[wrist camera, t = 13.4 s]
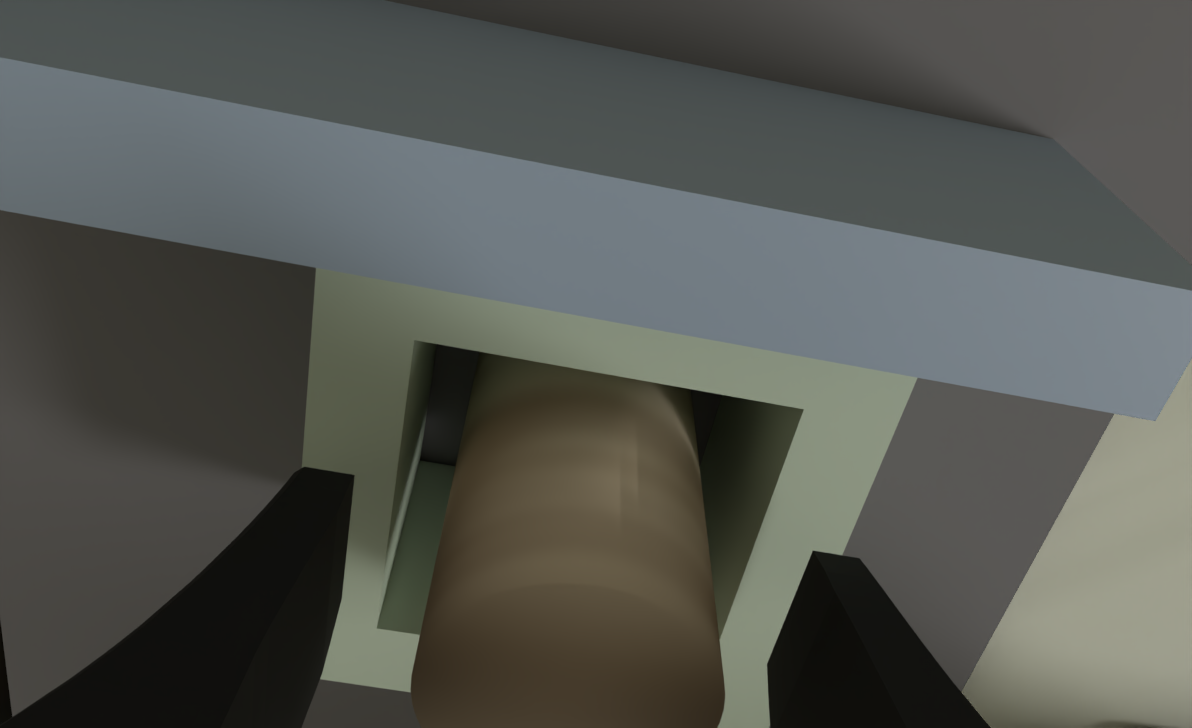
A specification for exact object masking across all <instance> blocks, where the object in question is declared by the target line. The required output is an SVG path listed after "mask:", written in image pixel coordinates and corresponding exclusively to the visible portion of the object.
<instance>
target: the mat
mask: <svg viewBox="0 0 1192 728" xmlns="http://www.w3.org/2000/svg"><path fill="white" fill-rule="evenodd" d="M386 1H390V2H395V3H400V4H405V5H410V6H414V7H419V8H424V9H429V10H434V11H438V12H443V13H448V14H453V15H458V16H463V17H467V18H472V19H477V20H482V21H487V22H491V23H496V24H501V25H506V26H511V27H515V28H520V29H525V30H530V31H535V32H540V33H544V34H549V35H554V36H559V37H564V38H568V39H573V40H578V41H583V42H588V43H592V44H597V45H602V46H607V47H612V48H617V49H621V50H626V51H631V52H636V53H641V54H645V55H650V56H655V57H660V58H665V59H669V60H674V61H679V62H684V63H689V64H694V65H698V66H703V67H708V68H713V69H718V70H722V71H727V72H732V73H737V74H742V75H746V76H751V77H756V78H761V79H766V80H771V81H775V82H780V83H785V84H790V85H795V86H799V87H804V88H809V89H814V90H819V91H824V92H828V93H833V94H838V95H843V96H848V97H852V98H857V99H862V100H867V101H872V102H876V103H881V104H886V105H891V106H896V107H901V108H905V109H910V110H915V111H920V112H925V113H929V114H934V115H939V116H944V117H949V118H953V119H958V120H963V121H968V122H973V123H978V124H982V125H987V126H992V127H997V128H1002V129H1006V130H1011V131H1016V132H1021V133H1026V134H1030V135H1035V136H1040V137H1045V138H1050V139H1054V140H1055V141H1056V142H1057V143H1058V144H1059V145H1061V146H1062V147H1063V148H1064V149H1065V150H1066V151H1067V152H1068V153H1069V154H1070V155H1071V156H1073V157H1074V158H1075V159H1076V160H1077V161H1078V162H1079V163H1080V164H1081V165H1082V166H1083V167H1085V168H1086V169H1087V170H1088V171H1089V172H1090V173H1091V174H1092V175H1093V176H1094V177H1095V178H1097V179H1098V180H1099V181H1100V182H1101V183H1102V184H1103V185H1104V186H1105V187H1106V188H1107V189H1109V190H1110V191H1111V192H1112V193H1113V194H1114V195H1115V196H1116V197H1117V198H1118V199H1120V200H1121V201H1122V202H1123V203H1124V204H1125V205H1126V206H1127V207H1128V208H1129V209H1130V210H1132V211H1133V212H1134V213H1135V214H1136V215H1137V216H1138V217H1139V218H1140V219H1141V220H1142V221H1144V222H1145V223H1146V224H1147V225H1148V226H1149V227H1150V228H1151V229H1152V230H1153V231H1154V232H1156V233H1157V234H1158V235H1159V236H1160V237H1161V238H1162V239H1163V240H1164V241H1165V242H1166V243H1168V244H1169V245H1170V246H1171V247H1172V248H1173V249H1174V250H1175V251H1176V252H1177V253H1178V254H1180V255H1181V256H1182V257H1183V258H1184V259H1185V260H1186V261H1187V262H1188V263H1189V264H1191V265H1192V0H386ZM315 276H316V268H315V267H309V266H304V265H298V264H293V263H287V262H282V261H276V260H271V259H265V258H260V257H254V256H249V255H243V254H238V253H233V252H227V251H222V250H216V249H211V248H205V247H200V246H194V245H189V244H183V243H178V242H172V241H167V240H161V239H156V238H150V237H145V236H140V235H134V234H129V233H123V232H118V231H112V230H107V229H101V228H96V227H90V226H85V225H79V224H74V223H68V222H63V221H57V220H52V219H46V218H41V217H36V216H30V215H25V214H19V213H14V212H8V211H3V210H0V621H1V629H2V637H3V645H4V653H5V661H6V669H7V677H8V685H9V693H10V701H11V710H12V717H13V716H15V715H16V714H18V713H19V712H21V711H22V710H24V709H25V708H27V707H28V706H30V705H31V704H33V703H34V702H36V701H37V700H39V699H40V698H42V697H43V696H45V695H46V694H48V693H49V692H51V691H52V690H54V689H55V688H57V687H58V686H60V685H61V684H63V683H64V682H66V681H67V680H68V679H70V678H71V677H73V676H74V675H76V674H77V673H78V672H80V671H81V670H82V669H84V668H85V667H86V666H88V665H89V664H91V663H92V662H93V661H95V660H96V659H97V658H99V657H100V656H102V655H103V654H104V653H106V652H107V651H108V650H109V649H111V648H112V647H113V646H115V645H116V644H117V643H119V642H120V641H121V640H122V639H124V638H125V637H126V636H127V635H129V634H130V633H131V632H132V631H134V630H135V629H136V628H137V627H139V626H140V625H141V624H142V623H143V622H145V621H146V620H147V619H148V618H149V617H150V616H152V615H153V614H154V613H155V612H156V611H157V610H159V609H160V608H161V607H162V606H163V605H164V604H165V603H167V602H168V601H169V600H170V599H171V598H172V597H173V596H175V595H176V594H177V593H178V592H179V591H180V590H182V589H183V588H184V587H185V586H186V585H187V584H188V583H190V582H191V581H192V580H193V579H194V578H195V577H196V576H197V575H198V574H199V573H200V572H201V571H202V570H204V569H205V568H206V567H207V566H208V565H209V564H210V563H211V562H212V561H213V560H214V559H215V558H216V557H217V556H218V555H219V554H220V553H221V552H222V551H223V550H224V549H225V548H226V547H227V546H228V545H229V544H230V543H231V542H232V541H233V540H234V539H235V538H236V537H237V536H238V535H239V534H240V533H241V532H242V531H243V530H244V529H245V528H246V527H247V526H248V525H249V524H250V523H251V522H252V521H253V519H254V518H255V517H256V516H257V515H258V514H259V513H260V512H261V511H262V510H263V509H264V508H265V506H266V505H267V504H268V503H269V502H270V501H271V500H272V499H273V497H274V496H275V495H276V494H277V493H278V492H279V490H280V489H281V488H282V487H283V486H284V485H285V483H286V482H287V481H288V480H289V478H290V477H291V476H292V475H293V473H294V472H296V471H298V470H299V469H301V468H302V458H303V444H304V430H305V416H306V402H307V388H308V374H309V360H310V346H311V332H312V318H313V304H314V290H315ZM479 353H480V352H479V351H473V350H468V349H462V348H456V347H451V346H445V345H439V344H437V345H436V352H435V359H434V366H433V373H432V380H431V387H430V394H429V401H428V408H427V415H426V422H425V429H424V436H423V443H422V450H421V457H420V461H426V462H432V463H438V464H444V465H450V466H456V462H457V457H458V452H459V448H460V443H461V438H462V433H463V429H464V424H465V419H466V414H467V410H468V405H469V400H470V395H471V391H472V386H473V381H474V376H475V372H476V367H477V362H478V357H479ZM691 397H692V406H693V415H694V423H695V432H696V441H697V449H698V458H699V467H700V465H701V462H702V459H703V455H704V452H705V449H706V446H707V443H708V440H709V436H710V433H711V430H712V427H713V424H714V420H715V417H716V414H717V411H718V408H719V405H720V401H721V398H722V395H721V394H715V393H709V392H704V391H698V390H692V389H691ZM1113 415H1114V413H1108V412H1103V411H1097V410H1092V409H1086V408H1081V407H1075V406H1070V405H1064V404H1059V403H1054V402H1048V401H1043V400H1037V399H1032V398H1026V397H1021V396H1015V395H1010V394H1004V393H999V392H993V391H988V390H982V389H977V388H971V387H966V386H960V385H955V384H950V383H944V382H939V381H933V380H928V379H922V378H917V380H916V383H915V385H914V387H913V390H912V392H911V395H910V397H909V399H908V402H907V404H906V406H905V409H904V411H903V413H902V416H901V418H900V420H899V423H898V425H897V427H896V430H895V432H894V435H893V437H892V439H891V442H890V444H889V446H888V449H887V451H886V453H885V456H884V458H883V460H882V463H881V465H880V467H879V470H878V472H877V475H876V477H875V479H874V482H873V484H872V486H871V489H870V491H869V493H868V496H867V498H866V500H865V503H864V505H863V507H862V510H861V512H860V515H859V517H858V519H857V522H856V524H855V526H854V529H853V531H852V533H851V536H850V538H849V540H848V543H847V545H846V548H845V550H844V552H843V556H849V557H856V558H860V559H861V561H862V562H863V563H864V565H865V566H866V567H867V568H868V570H869V571H870V572H871V574H872V575H873V576H874V578H875V579H876V580H877V582H878V583H879V584H880V586H881V587H882V588H883V590H884V591H885V592H886V594H887V595H888V597H889V598H890V599H891V601H892V602H893V603H894V605H895V606H896V607H897V609H898V610H899V612H900V613H901V614H902V616H903V617H904V618H905V620H906V621H907V622H908V624H909V625H910V626H911V628H912V629H913V630H914V632H915V633H916V634H917V636H918V637H919V638H920V640H921V641H922V642H923V644H924V645H925V646H926V648H927V649H928V650H929V652H930V653H931V654H932V656H933V657H934V658H935V660H936V661H937V662H938V663H939V665H940V666H941V667H942V669H943V670H944V671H945V672H946V674H947V675H948V676H949V678H950V679H951V680H952V681H953V683H954V684H955V685H956V686H957V688H958V689H959V690H960V691H962V689H963V688H964V686H965V684H966V682H967V680H968V679H969V677H970V675H971V673H972V671H973V669H974V668H975V666H976V664H977V662H978V660H979V659H980V657H981V655H982V653H983V651H984V649H985V648H986V646H987V644H988V642H989V640H990V639H991V637H992V635H993V633H994V631H995V629H996V628H997V626H998V624H999V622H1000V620H1001V619H1002V617H1003V615H1004V613H1005V611H1006V609H1007V608H1008V606H1009V604H1010V602H1011V600H1012V599H1013V597H1014V595H1015V593H1016V591H1017V589H1018V588H1019V586H1020V584H1021V582H1022V580H1023V579H1024V577H1025V575H1026V573H1027V571H1028V570H1029V568H1030V566H1031V564H1032V562H1033V560H1034V559H1035V557H1036V555H1037V553H1038V551H1039V550H1040V548H1041V546H1042V544H1043V542H1044V540H1045V539H1046V537H1047V535H1048V533H1049V531H1050V530H1051V528H1052V526H1053V524H1054V522H1055V520H1056V519H1057V517H1058V515H1059V513H1060V511H1061V510H1062V508H1063V506H1064V504H1065V502H1066V500H1067V499H1068V497H1069V495H1070V493H1071V491H1072V490H1073V488H1074V486H1075V484H1076V482H1077V480H1078V479H1079V477H1080V475H1081V473H1082V471H1083V470H1084V468H1085V466H1086V464H1087V462H1088V460H1089V459H1090V457H1091V455H1092V453H1093V451H1094V450H1095V448H1096V446H1097V444H1098V442H1099V440H1100V439H1101V437H1102V435H1103V433H1104V431H1105V430H1106V428H1107V426H1108V424H1109V422H1110V420H1111V419H1112V417H1113ZM302 728H421V726H420V724H419V722H418V720H417V718H416V715H415V711H414V708H413V705H412V699H411V692H405V691H398V690H391V689H384V688H377V687H370V686H364V685H357V684H350V683H343V682H336V681H329V680H322V679H320V681H319V683H318V686H317V689H316V691H315V694H314V696H313V699H312V702H311V704H310V707H309V709H308V712H307V715H306V717H305V720H304V722H303V725H302ZM769 728H770V726H769Z"/></svg>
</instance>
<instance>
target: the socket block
mask: <svg viewBox="0 0 1192 728" xmlns="http://www.w3.org/2000/svg"><path fill="white" fill-rule="evenodd" d="M437 344H439V345H445V346H451V347H456V348H462V349H468V350H473V351H479V352H484V353H490V354H496V355H501V356H507V357H513V358H518V359H524V360H529V361H535V362H541V363H546V364H552V365H558V366H563V367H569V368H574V369H580V370H586V371H591V372H597V373H602V374H608V375H614V376H619V377H625V378H631V379H636V380H642V381H647V382H653V383H659V384H664V385H670V386H676V387H681V388H687V389H692V390H698V391H704V392H709V393H715V394H721V395H722V398H721V401H720V405H719V408H718V411H717V414H716V417H715V420H714V424H713V427H712V430H711V433H710V436H709V440H708V443H707V446H706V449H705V452H704V455H703V459H702V462H701V465H700V476H701V484H702V493H703V502H704V510H705V519H706V528H707V536H708V545H709V554H710V562H711V571H712V580H713V588H714V597H715V606H716V614H717V623H718V632H719V641H720V649H721V658H722V667H723V675H724V685H725V703H724V710H723V714H722V717H721V720H720V723H719V725H718V727H717V728H769V726H770V716H769V699H768V676H767V663H768V660H769V658H770V655H771V653H772V650H773V648H774V645H775V643H776V640H777V638H778V636H779V633H780V631H781V628H782V626H783V623H784V621H785V618H786V616H787V613H788V611H789V608H790V606H791V603H792V601H793V598H794V596H795V593H796V591H797V589H798V586H799V584H800V581H801V579H802V576H803V574H804V571H805V569H806V566H807V564H808V561H809V559H810V556H811V554H812V551H819V552H825V553H831V554H837V555H843V552H844V550H845V548H846V545H847V543H848V540H849V538H850V536H851V533H852V531H853V529H854V526H855V524H856V522H857V519H858V517H859V515H860V512H861V510H862V507H863V505H864V503H865V500H866V498H867V496H868V493H869V491H870V489H871V486H872V484H873V482H874V479H875V477H876V475H877V472H878V470H879V467H880V465H881V463H882V460H883V458H884V456H885V453H886V451H887V449H888V446H889V444H890V442H891V439H892V437H893V435H894V432H895V430H896V427H897V425H898V423H899V420H900V418H901V416H902V413H903V411H904V409H905V406H906V404H907V402H908V399H909V397H910V395H911V392H912V390H913V387H914V385H915V383H916V380H917V377H911V376H906V375H900V374H895V373H889V372H884V371H878V370H873V369H867V368H862V367H856V366H851V365H846V364H840V363H835V362H829V361H824V360H818V359H813V358H807V357H802V356H796V355H791V354H785V353H780V352H774V351H769V350H763V349H758V348H753V347H747V346H742V345H736V344H731V343H725V342H720V341H714V340H709V339H703V338H698V337H692V336H687V335H681V334H676V333H670V332H665V331H659V330H654V329H649V328H643V327H638V326H632V325H627V324H621V323H616V322H610V321H605V320H599V319H594V318H588V317H583V316H577V315H572V314H566V313H561V312H555V311H550V310H545V309H539V308H534V307H528V306H523V305H517V304H512V303H506V302H501V301H495V300H490V299H484V298H479V297H473V296H468V295H462V294H457V293H451V292H446V291H441V290H435V289H430V288H424V287H419V286H413V285H408V284H402V283H397V282H391V281H386V280H380V279H375V278H369V277H364V276H358V275H353V274H347V273H342V272H337V271H331V270H326V269H320V268H316V276H315V290H314V304H313V318H312V332H311V346H310V360H309V374H308V388H307V402H306V416H305V430H304V444H303V458H302V468H303V467H310V468H316V469H322V470H328V471H334V472H340V473H346V474H352V475H355V477H354V487H353V496H352V506H351V515H350V525H349V534H348V544H347V554H346V563H345V573H344V582H343V592H342V600H341V604H340V608H339V611H338V615H337V619H336V623H335V627H334V631H333V635H332V638H331V642H330V646H329V650H328V653H327V657H326V661H325V665H324V668H323V672H322V675H321V678H320V679H322V680H329V681H336V682H343V683H350V684H357V685H364V686H370V687H377V688H384V689H391V690H398V691H405V692H411V690H410V689H411V675H412V671H413V666H414V661H415V656H416V652H417V647H418V642H419V637H420V633H421V628H422V623H423V618H424V614H425V609H426V604H427V599H428V595H429V590H430V585H431V580H432V576H433V571H434V566H435V561H436V557H437V552H438V547H439V542H440V538H441V533H442V528H443V523H444V519H445V514H446V509H447V505H448V500H449V495H450V490H451V486H452V481H453V476H454V471H455V467H456V466H450V465H444V464H438V463H432V462H426V461H420V457H421V450H422V443H423V436H424V429H425V422H426V415H427V408H428V401H429V394H430V387H431V380H432V373H433V366H434V359H435V352H436V345H437Z"/></svg>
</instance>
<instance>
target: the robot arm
mask: <svg viewBox="0 0 1192 728" xmlns="http://www.w3.org/2000/svg"><path fill="white" fill-rule="evenodd" d="M354 477H355V475H352V474H346V473H340V472H334V471H328V470H322V469H316V468H310V467H303V468H301V469H299V470H298V471H296V472H294V473H293V475H292V476H291V477H290V478H289V480H288V481H287V482H286V483H285V485H284V486H283V487H282V488H281V489H280V490H279V492H278V493H277V494H276V495H275V496H274V497H273V499H272V500H271V501H270V502H269V503H268V504H267V505H266V506H265V508H264V509H263V510H262V511H261V512H260V513H259V514H258V515H257V516H256V517H255V518H254V519H253V521H252V522H251V523H250V524H249V525H248V526H247V527H246V528H245V529H244V530H243V531H242V532H241V533H240V534H239V535H238V536H237V537H236V538H235V539H234V540H233V541H232V542H231V543H230V544H229V545H228V546H227V547H226V548H225V549H224V550H223V551H222V552H221V553H220V554H219V555H218V556H217V557H216V558H215V559H214V560H213V561H212V562H211V563H210V564H209V565H208V566H207V567H206V568H205V569H204V570H202V571H201V572H200V573H199V574H198V575H197V576H196V577H195V578H194V579H193V580H192V581H191V582H190V583H188V584H187V585H186V586H185V587H184V588H183V589H182V590H180V591H179V592H178V593H177V594H176V595H175V596H173V597H172V598H171V599H170V600H169V601H168V602H167V603H165V604H164V605H163V606H162V607H161V608H160V609H159V610H157V611H156V612H155V613H154V614H153V615H152V616H150V617H149V618H148V619H147V620H146V621H145V622H143V623H142V624H141V625H140V626H139V627H137V628H136V629H135V630H134V631H132V632H131V633H130V634H129V635H127V636H126V637H125V638H124V639H122V640H121V641H120V642H119V643H117V644H116V645H115V646H113V647H112V648H111V649H109V650H108V651H107V652H106V653H104V654H103V655H102V656H100V657H99V658H97V659H96V660H95V661H93V662H92V663H91V664H89V665H88V666H86V667H85V668H84V669H82V670H81V671H80V672H78V673H77V674H76V675H74V676H73V677H71V678H70V679H68V680H67V681H66V682H64V683H63V684H61V685H60V686H58V687H57V688H55V689H54V690H52V691H51V692H49V693H48V694H46V695H45V696H43V697H42V698H40V699H39V700H37V701H36V702H34V703H33V704H31V705H30V706H28V707H27V708H25V709H24V710H22V711H21V712H19V713H18V714H16V715H15V716H13V717H11V718H10V719H8V720H7V721H5V722H3V723H2V724H0V728H302V725H303V722H304V720H305V717H306V715H307V712H308V709H309V707H310V704H311V702H312V699H313V696H314V694H315V691H316V689H317V686H318V683H319V681H320V678H321V675H322V672H323V668H324V665H325V661H326V657H327V653H328V650H329V646H330V642H331V638H332V635H333V631H334V627H335V623H336V619H337V615H338V611H339V608H340V604H341V600H342V592H343V582H344V573H345V563H346V554H347V544H348V534H349V525H350V515H351V506H352V496H353V487H354ZM767 676H768V699H769V716H770V728H990V726H989V725H988V724H987V723H986V722H985V721H984V719H983V718H982V717H981V716H980V715H979V713H978V712H977V711H976V710H975V709H974V707H973V706H972V705H971V704H970V702H969V701H968V700H967V699H966V698H965V696H964V695H963V694H962V693H961V691H960V690H959V689H958V688H957V686H956V685H955V684H954V683H953V681H952V680H951V679H950V678H949V676H948V675H947V674H946V672H945V671H944V670H943V669H942V667H941V666H940V665H939V663H938V662H937V661H936V660H935V658H934V657H933V656H932V654H931V653H930V652H929V650H928V649H927V648H926V646H925V645H924V644H923V642H922V641H921V640H920V638H919V637H918V636H917V634H916V633H915V632H914V630H913V629H912V628H911V626H910V625H909V624H908V622H907V621H906V620H905V618H904V617H903V616H902V614H901V613H900V612H899V610H898V609H897V607H896V606H895V605H894V603H893V602H892V601H891V599H890V598H889V597H888V595H887V594H886V592H885V591H884V590H883V588H882V587H881V586H880V584H879V583H878V582H877V580H876V579H875V578H874V576H873V575H872V574H871V572H870V571H869V570H868V568H867V567H866V566H865V565H864V563H863V562H862V561H861V559H860V558H856V557H849V556H843V555H837V554H831V553H825V552H819V551H812V554H811V556H810V559H809V561H808V564H807V566H806V569H805V571H804V574H803V576H802V579H801V581H800V584H799V586H798V589H797V591H796V593H795V596H794V598H793V601H792V603H791V606H790V608H789V611H788V613H787V616H786V618H785V621H784V623H783V626H782V628H781V631H780V633H779V636H778V638H777V640H776V643H775V645H774V648H773V650H772V653H771V655H770V658H769V660H768V663H767Z"/></svg>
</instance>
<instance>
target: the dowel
mask: <svg viewBox="0 0 1192 728" xmlns="http://www.w3.org/2000/svg"><path fill="white" fill-rule="evenodd" d="M410 690H411V699H412V705H413V708H414V711H415V715H416V718H417V720H418V722H419V724H420V726H421V728H717V727H718V725H719V723H720V720H721V717H722V714H723V710H724V703H725V685H724V675H723V667H722V658H721V649H720V641H719V632H718V623H717V614H716V606H715V597H714V588H713V580H712V571H711V562H710V554H709V545H708V536H707V528H706V519H705V510H704V502H703V493H702V484H701V476H700V467H699V458H698V449H697V441H696V432H695V423H694V415H693V406H692V397H691V389H687V388H681V387H676V386H670V385H664V384H659V383H653V382H647V381H642V380H636V379H631V378H625V377H619V376H614V375H608V374H602V373H597V372H591V371H586V370H580V369H574V368H569V367H563V366H558V365H552V364H546V363H541V362H535V361H529V360H524V359H518V358H513V357H507V356H501V355H496V354H490V353H484V352H480V353H479V357H478V362H477V367H476V372H475V376H474V381H473V386H472V391H471V395H470V400H469V405H468V410H467V414H466V419H465V424H464V429H463V433H462V438H461V443H460V448H459V452H458V457H457V462H456V467H455V471H454V476H453V481H452V486H451V490H450V495H449V500H448V505H447V509H446V514H445V519H444V523H443V528H442V533H441V538H440V542H439V547H438V552H437V557H436V561H435V566H434V571H433V576H432V580H431V585H430V590H429V595H428V599H427V604H426V609H425V614H424V618H423V623H422V628H421V633H420V637H419V642H418V647H417V652H416V656H415V661H414V666H413V671H412V675H411V689H410Z"/></svg>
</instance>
